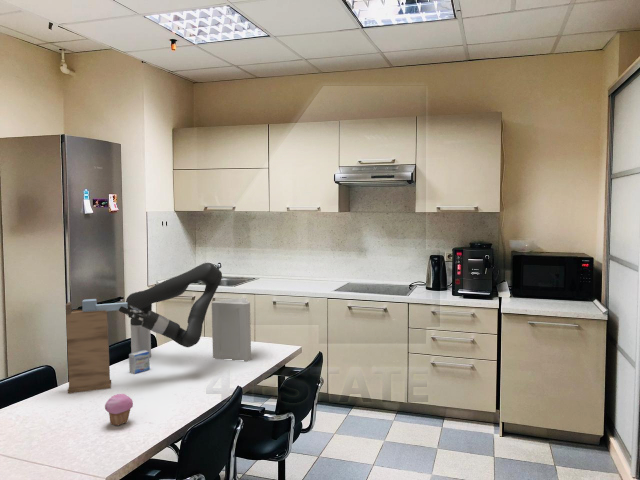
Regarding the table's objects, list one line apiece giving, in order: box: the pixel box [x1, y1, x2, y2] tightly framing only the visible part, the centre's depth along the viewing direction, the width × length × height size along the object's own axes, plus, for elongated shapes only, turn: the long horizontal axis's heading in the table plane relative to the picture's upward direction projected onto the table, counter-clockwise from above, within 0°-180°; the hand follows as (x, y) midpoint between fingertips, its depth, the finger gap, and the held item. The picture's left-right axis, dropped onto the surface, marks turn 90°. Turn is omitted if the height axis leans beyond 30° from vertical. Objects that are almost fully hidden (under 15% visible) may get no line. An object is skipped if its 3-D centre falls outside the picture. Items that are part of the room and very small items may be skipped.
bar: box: [81, 298, 128, 312], centre depth 207 cm, size 5×17×5 cm, turn 110°
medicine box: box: [128, 350, 151, 375], centre depth 229 cm, size 8×4×9 cm, turn 143°
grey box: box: [211, 297, 252, 362], centre depth 250 cm, size 19×15×28 cm
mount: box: [65, 301, 112, 395], centre depth 206 cm, size 7×16×36 cm, turn 110°
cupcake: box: [104, 393, 134, 426], centre depth 172 cm, size 9×9×10 cm
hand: (119, 306), depth 209 cm, fingers open, 8 cm apart
